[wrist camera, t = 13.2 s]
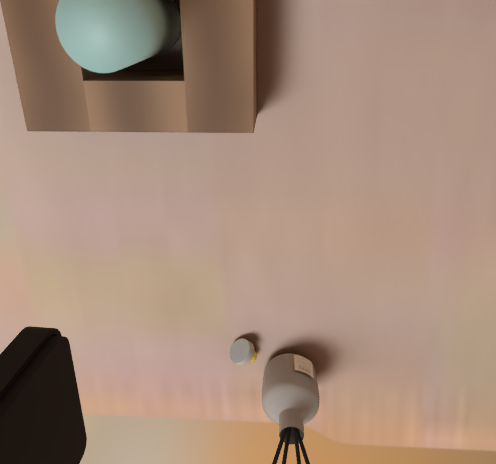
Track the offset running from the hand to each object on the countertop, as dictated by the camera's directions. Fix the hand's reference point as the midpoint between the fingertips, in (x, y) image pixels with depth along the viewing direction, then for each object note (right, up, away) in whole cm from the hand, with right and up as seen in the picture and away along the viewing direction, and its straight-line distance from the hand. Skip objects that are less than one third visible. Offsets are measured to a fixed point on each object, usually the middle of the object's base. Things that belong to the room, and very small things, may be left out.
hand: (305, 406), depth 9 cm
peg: (-7, +17, +22) cm, 29 cm away
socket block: (-7, +17, +22) cm, 29 cm away
